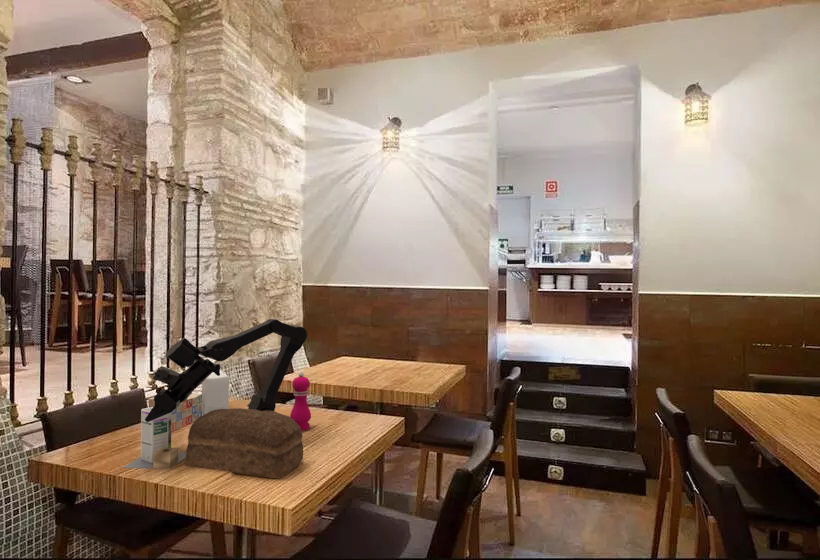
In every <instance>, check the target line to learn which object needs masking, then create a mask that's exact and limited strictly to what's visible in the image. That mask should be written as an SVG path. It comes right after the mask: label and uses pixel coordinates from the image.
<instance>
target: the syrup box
mask: <svg viewBox="0 0 820 560" xmlns="http://www.w3.org/2000/svg"><path fill="white" fill-rule="evenodd" d="M152 408H153V407H150V408H149V407H146V408H141V410H140V413H141V414H140V426H141V428H140V457H141V459H142V460H144V461H147V462H150V463H153V453H155V452H156V451H158V450H159V449H161V448H172V432H171V413H168V414H166V415H164V416H161V417H159V418H156V419H154V420H152V421H150V422H146V421H145V418H146V417H147V416H148V414H149V413H150V411H151V410H152Z"/></svg>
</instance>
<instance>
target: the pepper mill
mask: <svg viewBox="0 0 820 560" xmlns="http://www.w3.org/2000/svg"><path fill="white" fill-rule="evenodd" d="M310 385H311V384H310V380H309V378H308V377H306V376H305V374H304V373H303V372H302V371H300V372H299V373H298V376H297V377H295V378H294V379H293V381H292V388H293V389H294V390H293V396H294V403H293V404H294V405H292V406H293V407H292V408H291V412H290V415H289V417H290V418H292V419H293V420H294V421H295V422H296V423H297V424H298V425H299V427H300V428H301V431H302V432H306V431H308V430H309V429H310V420H311V418H312V414H311V409H310V408H309V406H308V401H307V400H308V399H307V398H308V397H307V396H308V395H309V390H308V389H309V387H310ZM307 429H308V430H307ZM305 430H306V431H305Z"/></svg>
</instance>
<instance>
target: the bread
mask: <svg viewBox="0 0 820 560" xmlns="http://www.w3.org/2000/svg"><path fill="white" fill-rule="evenodd" d="M188 431H189V432H188V435H187V440H188V441H187V442H188V443H187V446H186V452H185V453H186V457H185V461H186V465H187V467H188V466H189V467H194V468H195V467H196V468H204V469H210V470H211V469H212V470H218V471H219V470H220V471H225V472H232V474H238V475H246V476H255V477H263V478H270V479H280V478H282V477H284V476H285V475H288V474H289V473H290V472H292V471H293V470H294V469H296V468H297V467H298V466H299V465H300V464H301V462H302V461H303V459H304V445H303V441H302V440H303V435H304V434H303V431H301V428H300V427H299V425H298V424H297V423H296V422H295V421H294V420H293V419H292V418H290V415H286V414H282V413H280V412H278V411H259V410H254V409H248V408H241V407H238V408H237V407H234V408H228V409H217V410H213V411H210V412H208V413H207V414H204V415H203V414H202V416H200V417H198V418H197V420H196V421H195V422H193V423H191V425H190V428H189V430H188Z"/></svg>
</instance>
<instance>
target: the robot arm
mask: <svg viewBox="0 0 820 560" xmlns="http://www.w3.org/2000/svg"><path fill="white" fill-rule="evenodd" d="M272 334H276V335H277V336H280V337H281V338H280V347H279V348H280V349H279V352H278V354H277V356H276V359H275V361H274V362H273V365H272V368H271V370H270V372H269V374H268V376H267V379H266V381H265V382H264V385H263V387H262V390H261V391H260V392H259V393H258V394H257V395H256V394H252V396H251V400H250V401H249V403H248V404H247V406H246V407H248V408H247V409H254V410H259V411H275V409H276V406H277V404H276V403H277V402H276V401H277V394H278V392H279V390H280V387H281V386H282V383H283V381H284V378H285V377H286V374H287V372H288V369H289V367H290V365H291V362H292V360H293V358H294V356H295V354H296V353H297V352H298V351H300V349H301V348H302V347H303V346H304V344H305V342H306V341H307V338H308V333H307V330H306V329H305V328H304V327H303V326H299V325H298V326H297V325H290V324H287V323H284V322H283V321H280V320H279V319H275V318H268V319H267V320H266V321H263V322H261V323H259V324H257V325H253V326H252V327H250V328H248V329H246V330H243V331H241V332H239V333H236V334H234V335H231V336H225V337H221V338H216V339H213V340H210V341H209V342H207V343H206V345H202V346H199V347H198V346H197V347H196V346H195V345H193V343H191V342H190V341H189V339H187V338H185V337H182V338H181V339H180V340H179V341H177V342H176V343H174V344H172V345H171V346H170V348H168V350H167V351H166V353H165V357H166V358H167V359H169V360H171V362H173V363H174V364H175V365H177V366H178V367H179V368H181V369H183V368H186V367H187V368H186V370H185V371H184V370H183V371H182V372H181V373H179V372H178V371H176V370H173V369H171V368H168V367H166V366H163V365H161V366H160V367H158V368H157V369H156V371H155V372H154V373H153V377H152V379H153V380H154V381H156V382H157V381H158V382H161V383H162V384H166V389H165V388H164V389H161V390H160V391H159V392H158V393H156V395H154V396H153V397H154V401H155V405H154V407H153V408H152V410H151V411H150V413H149V414H148V416H147V417H146V418H145V421H146V422H150V421H152V420H154V419H156V418H159V417H161V416H164V415H166V414H168V413H171V412H172V411H173V410H175V409H176V408H177V407H178V406H179V405H180V403H181V402H183V401H184V400H186V399H187V398H188V397H189V396H190V395H191V394H193V392H194V391H195V390H196V389H197V388H198V387H199V386H200V385H202V382H203V381H204V380H205V379H206V378H207V377H208V376H209V375H210V374H216V375H217V376H220V374H221V363H214V362H213V360H214V361H217V362H224V361H226V360H227V359H229V358H231V356H233V355H234V354H235V353H237V352H238V351H239V350H240V349H242V348H243V347H245V346H248V345H249V344H252V343H254V342H256V341H258V340H261V339H262V338H265V337H266V336H268V335H272ZM201 356H202V357H201ZM203 357H205V358H206V359H205V358H203ZM208 358H209V359H208ZM210 359H211V360H210ZM275 412H276V411H275Z"/></svg>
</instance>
